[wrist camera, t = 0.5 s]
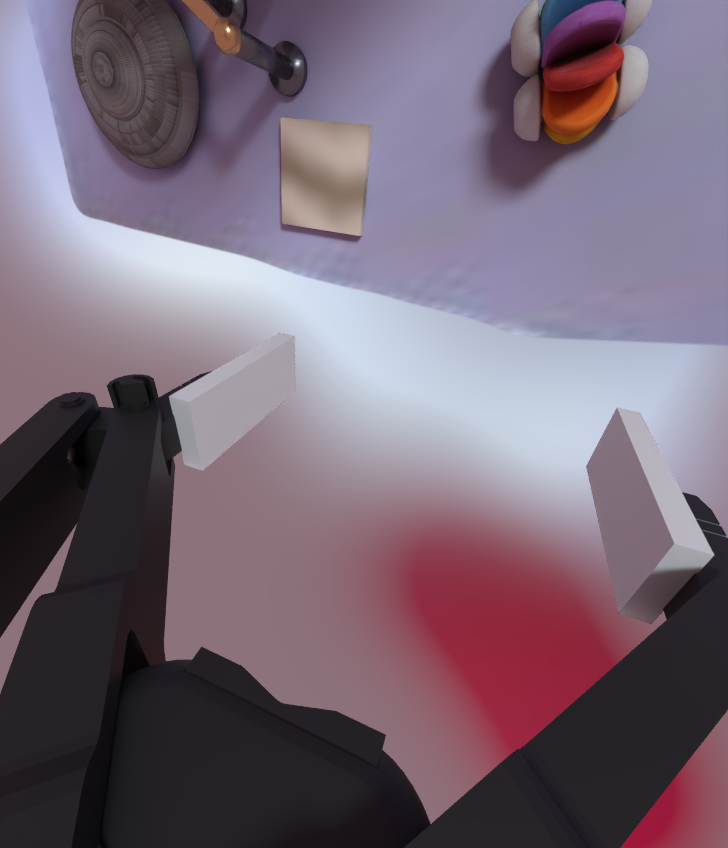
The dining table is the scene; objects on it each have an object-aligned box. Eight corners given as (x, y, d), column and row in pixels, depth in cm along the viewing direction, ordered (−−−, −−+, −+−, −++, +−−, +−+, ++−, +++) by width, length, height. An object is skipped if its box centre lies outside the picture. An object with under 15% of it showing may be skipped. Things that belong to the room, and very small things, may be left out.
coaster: (284, 118, 37) (280, 117, 36) (372, 126, 35) (369, 125, 34) (285, 223, 42) (281, 223, 41) (362, 235, 39) (359, 236, 39)
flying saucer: (87, 123, 44) (38, 115, 40) (92, -59, 35) (30, -96, 31) (192, 197, 44) (155, 196, 40) (224, 32, 35) (180, 8, 31)
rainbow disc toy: (515, 161, 32) (513, 152, 27) (509, 8, 28) (506, -43, 22) (634, 127, 29) (662, 109, 23) (648, -53, 25) (687, -130, 19)
